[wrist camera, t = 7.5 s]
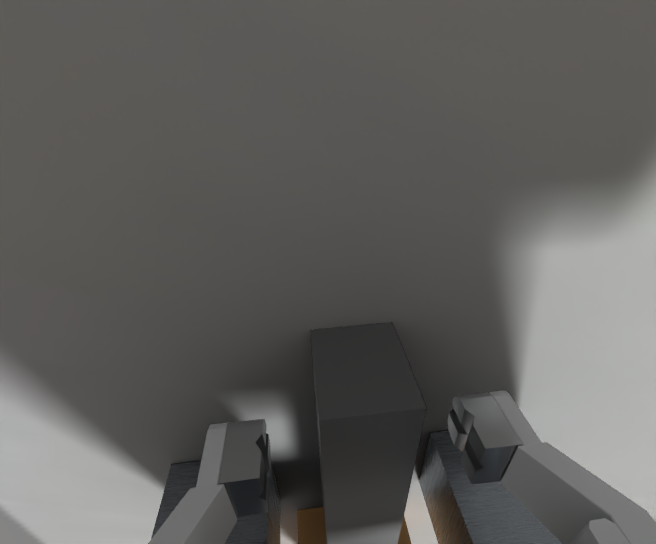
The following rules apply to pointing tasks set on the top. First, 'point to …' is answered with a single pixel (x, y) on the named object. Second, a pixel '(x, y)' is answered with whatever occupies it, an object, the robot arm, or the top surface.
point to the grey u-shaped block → (439, 493)
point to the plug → (363, 436)
